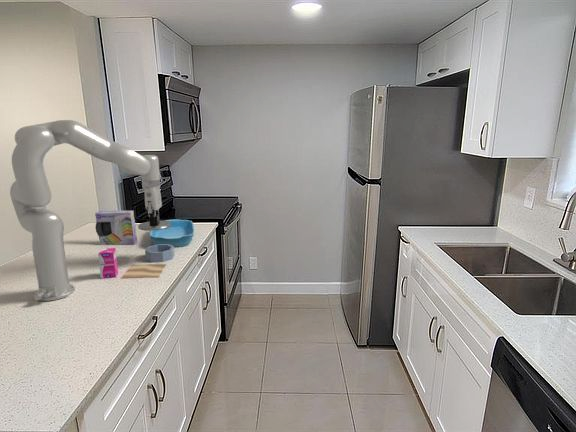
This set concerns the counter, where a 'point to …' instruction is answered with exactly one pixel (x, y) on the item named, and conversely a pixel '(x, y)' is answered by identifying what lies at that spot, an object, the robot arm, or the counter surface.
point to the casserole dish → (174, 233)
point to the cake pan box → (116, 227)
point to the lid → (159, 226)
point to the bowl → (159, 253)
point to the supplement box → (108, 263)
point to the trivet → (144, 271)
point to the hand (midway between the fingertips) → (154, 223)
